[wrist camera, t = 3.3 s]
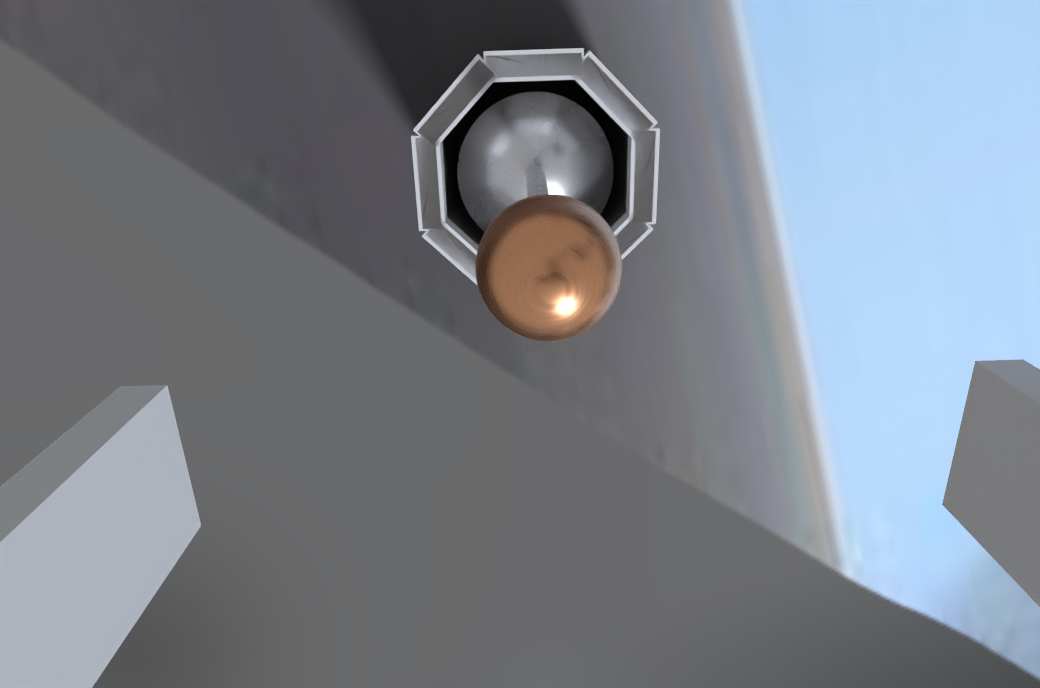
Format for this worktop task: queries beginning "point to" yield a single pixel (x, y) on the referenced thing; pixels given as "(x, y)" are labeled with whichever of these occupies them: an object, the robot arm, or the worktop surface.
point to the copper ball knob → (541, 215)
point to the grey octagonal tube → (524, 73)
